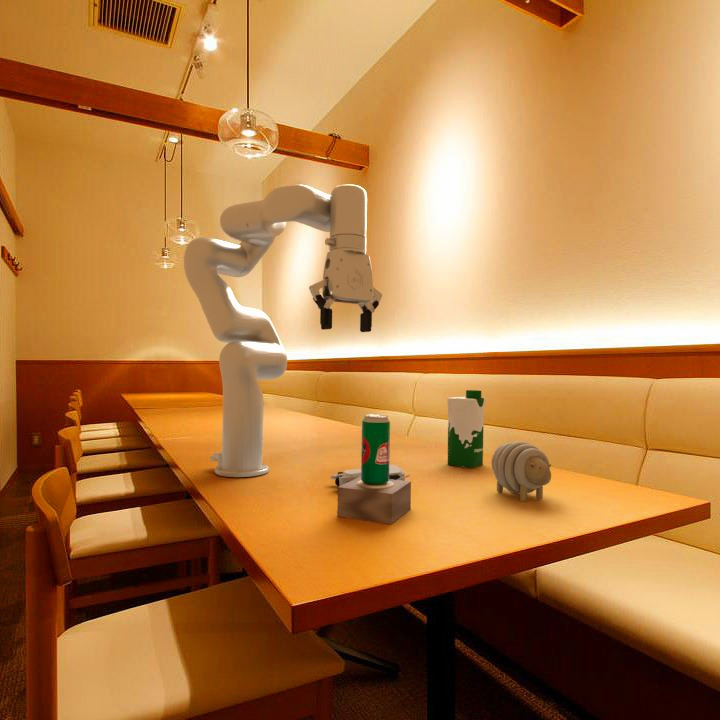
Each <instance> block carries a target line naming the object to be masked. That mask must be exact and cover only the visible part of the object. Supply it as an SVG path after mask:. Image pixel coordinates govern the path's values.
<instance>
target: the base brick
mask: <svg viewBox="0 0 720 720" xmlns="http://www.w3.org/2000/svg"><path fill="white" fill-rule="evenodd" d="M411 495H412V481H410V480H409V481H408V480H405V481H402V480H393V479H389V481H388V482H387V483H386V484H385V485H378V486H374V485H367V484H364V483H363V482H362V480H361V476H360V477H358V478H356V479H354V480H352V481H349V482H347V483H345V484H343V485H341V486H339V487H338V486H337V514H336V515H337V517H343V518H349V519H353V520H361V521H369V522H376V523H381V524H388V525H393V524H394V523H395V522H397V520H399V519H401V517H402V516H404V515H405V514H406V513H408V512H409V511H410V510H411V504H412V503H411V502H412V501H411V500H412V499H411V498H412V496H411Z"/></svg>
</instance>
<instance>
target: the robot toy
mask: <svg viewBox="0 0 720 720" xmlns="http://www.w3.org/2000/svg"><path fill="white" fill-rule="evenodd" d="M405 474H406V473H405V470H403V469H402V468H401V467H400V466H398V465H396V464H391V463H389V479H393V480H402V481H406V478H409V477H411V474H406V475H405ZM360 476H361V468H355V469H346V470H344V471H338V472H337V474H336V473H334V474H331V475H330V479H331V480H334V484H335V485H336V486H337V488H338V487H339V486H341V485H343V484H345V483H347V482H349V481H352V480H354V479H356V478H358V477H360Z"/></svg>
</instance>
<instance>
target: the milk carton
mask: <svg viewBox="0 0 720 720" xmlns="http://www.w3.org/2000/svg"><path fill="white" fill-rule="evenodd" d="M446 399H447V401H446V402H447V465H449V466H453V467H461V468H469V469H473V468H474V469H475V468H476V467H479V466H481V465H484V421H485V420H484V418H485V417H484V416H485V407H486V406H485V405H486V398H485V397H482V390H473V389H471V390H470V389H466V390H465V396H456V397H447V398H446Z"/></svg>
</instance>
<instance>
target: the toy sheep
mask: <svg viewBox="0 0 720 720" xmlns="http://www.w3.org/2000/svg"><path fill="white" fill-rule="evenodd" d="M548 458H549V457H548V456H547V455H546V453H544V452H543V451H542V450H541V449H539V448H538V447H537V446H536V445H533V444H530V443H528V442H525V441H511V442H507V443H503V444H501V445H499V446H498V447H497V448H496V449H495V450H494V452H493V455H492V458H491V468H492V471H493V474H494V476H495V479H496V491H497V493H502V492H503V491H504V489H506V490H507V491H509V492H510V493H513V494H517V495H518V494H519V500H520V501H521V502H522V503H525V502H527V500H528V494H530V493H533V492H534V491H535V498H536V500H539V501H542V500H543V499H544V493H543V492H544V486H546V485H548V484H550V482H551V479H552V473H551V467H552V463H550V460H549V459H548Z"/></svg>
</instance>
